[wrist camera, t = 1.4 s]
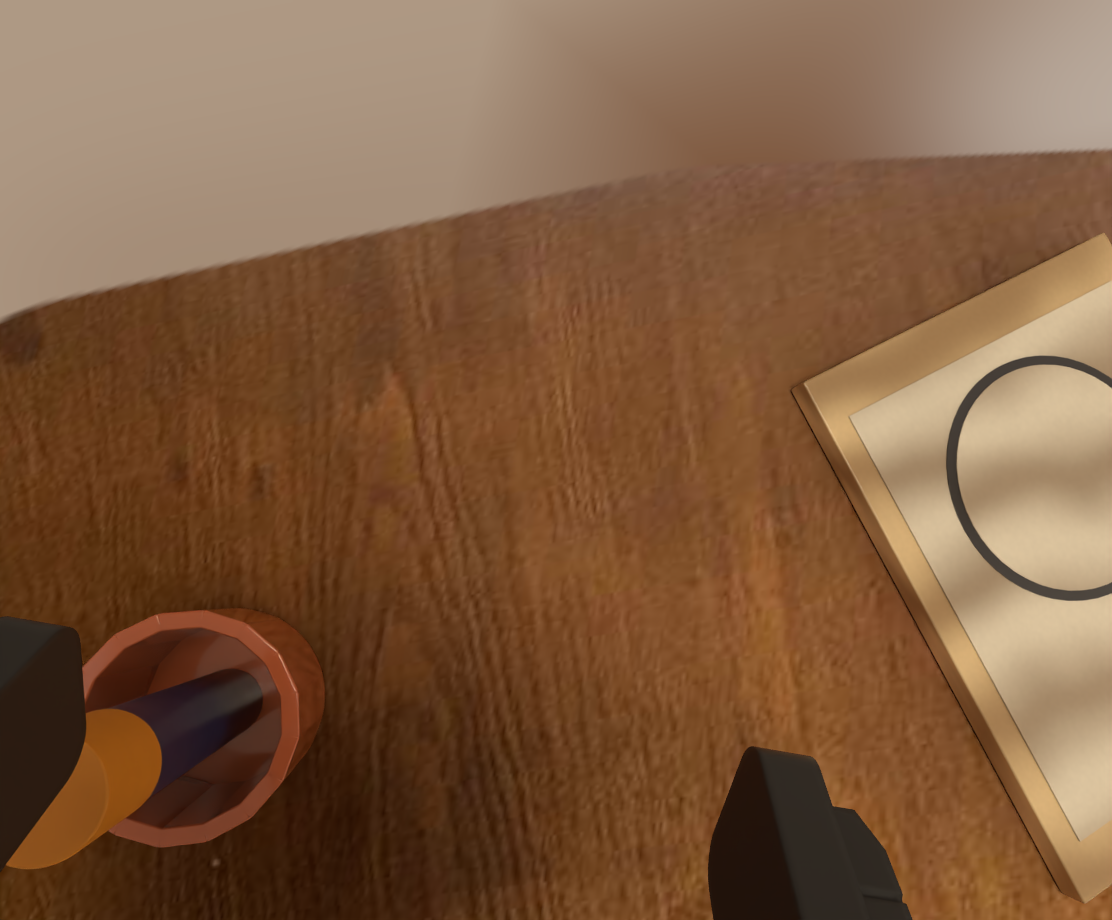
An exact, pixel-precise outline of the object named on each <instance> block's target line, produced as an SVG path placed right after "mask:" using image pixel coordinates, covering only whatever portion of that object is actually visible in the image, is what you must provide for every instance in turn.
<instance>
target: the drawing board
mask: <svg viewBox="0 0 1112 920" xmlns="http://www.w3.org/2000/svg"><path fill="white" fill-rule="evenodd" d="M791 391H792V393H793V395H794V397H795V399H796V400H797V402H798V404H799V406H800V408H801V410H802V412H803V413H804V415H805V417H806V419H807V421H808V423H809V425H810V426H811V428H812V430H813V432H814V434H815V436H816V438H817V439H818V441H819V443H820V445H821V447H822V449H823V451H824V452H825V454H826V456H827V458H828V460H829V462H830V464H831V465H832V467H833V469H834V471H835V473H836V475H837V477H838V478H839V480H840V482H841V484H842V486H843V488H844V490H845V491H846V493H847V495H848V497H849V499H850V501H851V503H852V504H853V506H854V508H855V510H856V512H857V514H858V516H859V517H860V519H861V521H862V523H863V525H864V527H865V529H866V530H867V532H868V534H869V536H870V538H871V540H872V542H873V543H874V545H875V547H876V549H877V551H878V553H879V555H880V557H881V558H882V560H883V562H884V564H885V566H886V568H887V570H888V571H889V573H890V575H891V577H892V579H893V581H894V583H895V584H896V586H897V588H898V590H899V592H900V594H901V596H902V597H903V599H904V601H905V603H906V605H907V607H908V609H909V610H910V612H911V614H912V616H913V618H914V620H915V622H916V623H917V625H918V627H919V629H920V631H921V633H922V635H923V636H924V638H925V640H926V642H927V644H928V646H929V648H930V649H931V651H932V653H933V655H934V657H935V659H936V661H937V662H938V664H939V666H940V668H941V670H942V672H943V674H944V675H945V677H946V679H947V681H948V683H949V685H950V687H951V688H952V690H953V692H954V694H955V696H956V698H957V700H958V701H959V703H960V705H961V707H962V709H963V711H964V713H965V714H966V716H967V718H968V720H969V722H970V724H971V726H972V727H973V729H974V731H975V733H976V735H977V737H978V739H979V740H980V742H981V744H982V746H983V748H984V750H985V752H986V753H987V755H988V757H989V759H990V761H991V763H992V765H993V766H994V768H995V770H996V772H997V774H998V776H999V778H1000V780H1001V781H1002V783H1003V785H1004V787H1005V789H1006V791H1007V793H1008V794H1009V796H1010V798H1011V800H1012V802H1013V804H1014V806H1015V807H1016V809H1017V811H1018V813H1019V815H1020V817H1021V819H1022V820H1023V822H1024V824H1025V826H1026V828H1027V830H1028V832H1029V833H1030V835H1031V837H1032V839H1033V841H1034V843H1035V845H1036V846H1037V848H1038V850H1039V852H1040V854H1041V856H1042V858H1043V859H1044V861H1045V863H1046V865H1047V867H1048V869H1049V871H1050V872H1051V874H1052V876H1053V878H1054V880H1055V882H1056V884H1057V885H1058V887H1059V889H1060V891H1061V893H1063V894H1065V895H1067V896H1069V897H1071V898H1073V899H1075V900H1077V901H1080V902H1082V903H1087V902H1088V901H1090V900H1091V899H1092V898H1094V897H1095V896H1097V895H1098V894H1099V893H1101V892H1102V891H1103V890H1105V889H1106V888H1108V887H1109V886H1110V885H1112V245H1111V243H1110V241H1109V240H1108V238H1107V236H1106V234H1105V233H1101V234H1099V235H1097V236H1095V237H1093V238H1091V239H1089V240H1087V241H1085V242H1083V243H1081V244H1079V245H1077V246H1075V247H1073V248H1071V249H1069V250H1067V251H1065V252H1063V253H1061V254H1059V255H1057V256H1055V257H1053V258H1051V259H1049V260H1047V261H1045V262H1043V263H1041V264H1039V265H1037V266H1035V267H1033V268H1031V269H1029V270H1027V271H1025V272H1023V273H1021V274H1019V275H1017V276H1015V277H1013V278H1011V279H1009V280H1007V281H1005V282H1003V283H1001V284H999V285H997V286H995V287H993V288H991V289H989V290H987V291H985V292H983V293H981V294H979V295H977V296H975V297H973V298H971V299H969V300H967V301H965V302H963V303H961V304H959V305H957V306H955V307H953V308H951V309H949V310H947V311H945V312H943V313H941V314H939V315H937V316H935V317H933V318H931V319H929V320H927V321H925V322H923V323H921V324H919V325H917V326H915V327H913V328H911V329H909V330H907V331H905V332H903V333H901V334H899V335H897V336H895V337H893V338H891V339H889V340H887V341H885V342H883V343H881V344H879V345H877V346H875V347H873V348H871V349H869V350H867V351H865V352H863V353H861V354H859V355H857V356H855V357H853V358H851V359H849V360H847V361H845V362H843V363H841V364H839V365H837V366H835V367H832V368H830V369H828V370H826V371H824V372H822V373H820V374H818V375H816V376H814V377H812V378H810V379H808V380H806V381H804V382H803V383H801V384H799V385H797V386H796V387H794V388H792V390H791Z"/></svg>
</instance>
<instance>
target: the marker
mask: <svg viewBox="0 0 1112 920" xmlns="http://www.w3.org/2000/svg"><path fill="white" fill-rule="evenodd" d="M262 704H263V696H262V691H261V688H260V686H259V684H258V682H257V681H256V680H255V679H254V678H253V677H252V676H251V675H250V674H248V673H247V672H245V671H242V670H238V669H224V670H221V671H217V672H214V673H211V674H208V675H205V676H203V677H200V678H197V679H194V680H191V681H188V682H185V683H182V684H179V685H176V686H173V687H170V688H167V689H164V690H161V691H158V692H155V693H152V694H149V695H146V696H143V697H140V698H137V699H134V700H131V701H128V702H125V703H122V704H119V705H116V706H113V707H110V708H107V709H100V710H95V711H91V712H88V713H86V736H85V741H84V745H83V749H82V752H81V755H80V758H79V760H78V763H77V765H76V767H75V769H74V771H73V773H72V775H71V776H70V778H69V780H68V781H67V783H66V784H65V785H64V787H63V788H62V789H61V791H60V792H59V794H58V795H57V796H56V798H55V799H54V800H53V802H52V803H51V804H50V806H49V807H48V808H47V810H46V811H45V812H44V814H43V815H42V816H41V818H40V819H39V821H38V822H37V823H36V825H35V826H34V827H33V829H32V830H31V831H30V833H29V834H28V835H27V837H26V838H25V839H24V841H23V842H22V843H21V845H20V846H19V847H18V849H17V850H16V852H15V853H14V854H13V856H12V857H11V858H10V860H9V861H8V862H7V864H6V865H7V866H9V867H14V868H19V869H39V868H44V867H49V866H52V865H55V864H58V863H60V862H62V861H64V860H66V859H68V858H70V857H71V856H73V855H75V854H76V853H77V852H79V851H80V850H82V849H83V848H84V847H86V846H87V845H88V844H90V843H91V842H93V841H94V840H95V839H97V838H98V837H100V836H101V835H102V834H104V833H105V832H107V831H108V830H109V829H111V828H112V827H114V826H115V825H116V824H118V823H119V822H121V821H122V820H123V819H125V818H126V817H128V816H129V815H130V814H132V813H133V812H134V811H136V810H137V809H138V808H139V807H141V806H142V805H143V804H144V803H145V801H146V800H147V799H149V798H150V797H152V796H153V795H154V794H156V793H157V792H159V791H160V790H162V789H163V788H164V787H166V786H167V785H169V784H170V783H171V782H173V781H174V780H176V779H177V778H179V777H180V776H181V775H183V774H184V773H186V772H187V771H188V770H190V769H191V768H193V767H194V766H196V765H197V764H198V763H200V762H201V761H203V760H204V759H205V758H207V757H208V756H210V755H211V754H213V753H214V752H215V751H217V750H218V749H220V748H221V747H222V746H224V745H225V744H227V743H228V742H230V741H231V740H232V739H234V738H235V737H237V736H238V735H239V734H241V733H242V732H244V731H245V730H247V729H248V728H249V727H250V726H251V725H252V724H253V723H254V722H255V721H256V719H257V718H258V716H259V714H260V712H261V709H262Z"/></svg>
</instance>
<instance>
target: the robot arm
mask: <svg viewBox="0 0 1112 920" xmlns="http://www.w3.org/2000/svg"><path fill="white" fill-rule="evenodd" d="M85 736H86V713H85V699H84V685H83V671H82V657H81V644H80V638H79V635H78V633H77V631H76V630H75V629H74V628H71V627H66V626H61V625H55V624H49V623H43V622H37V621H32V620H26V619H20V618H14V617H8V616H7V617H1V618H0V872H1V870H2V869H3V868H4V866H5V865H6V864H7V862H8V861H9V860H10V858H11V857H12V856H13V854H14V853H15V852H16V850H17V849H18V847H19V846H20V845H21V843H22V842H23V841H24V839H25V838H26V837H27V835H28V834H29V833H30V831H31V830H32V829H33V827H34V826H35V825H36V823H37V822H38V821H39V819H40V818H41V816H42V815H43V814H44V812H45V811H46V810H47V808H48V807H49V806H50V804H51V803H52V802H53V800H54V799H55V798H56V796H57V795H58V794H59V792H60V791H61V789H62V788H63V787H64V785H65V784H66V783H67V781H68V780H69V778H70V776H71V775H72V773H73V771H74V769H75V767H76V765H77V763H78V760H79V758H80V755H81V752H82V749H83V745H84V741H85ZM708 882H709V892H710V899H711V906H712V912H713V919H714V920H912V917H911V915H910V912H909V910H908V907H907V904H905V903H903V902H902V896H903V894H902V891H901V889H900V886H899V884H898V881H897V879H896V876H895V873H894V871H893V868H892V866H891V863H890V860H889V858H888V855H887V853H886V850H885V849H884V848H883V846H882V845H881V844H880V842H879V841H878V840H877V839H876V837H875V836H874V835H873V834H872V832H871V831H870V830H869V828H868V827H867V826H866V825H865V823H864V822H863V821H862V819H861V818H860V817H859V816H858V814H857V813H856V812H855V810H852V809H846V808H840V807H834V806H832V803H831V800H830V797H829V794H828V791H827V788H826V785H825V782H824V779H823V776H822V773H821V770H820V768H819V765H818V764H817V762H816V760H815V759H814V758H813V757H811V756H806V755H800V754H794V753H788V752H782V751H776V750H771V749H765V748H759V747H749V748H748V749H747V750H746V751H745V753H744V754H743V756H742V759H741V761H740V764H739V767H738V769H737V772H736V774H735V777H734V780H733V782H732V785H731V788H730V790H729V793H728V796H727V798H726V801H725V804H724V806H723V809H722V811H721V814H720V817H719V819H718V822H717V825H716V827H715V830H714V833H713V836H712V840H711V846H710V852H709V862H708Z"/></svg>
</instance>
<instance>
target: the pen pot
mask: <svg viewBox="0 0 1112 920" xmlns="http://www.w3.org/2000/svg"><path fill="white" fill-rule="evenodd" d="M224 669H238V670H242V671H245V672H247V673H248V674H250V675H251V676H252V677H253V678H254V679H255V680H256V681H257V682H258V684H259V686H260V688H261V691H262V696H263V704H262V709H261V712H260V714H259V716H258V718H257V719H256V721H255V722H254V723H253V724H252V725H251V726H250V727H249V728H248V729H247V730H245V731H244V732H242V733H241V734H239V735H238V736H237V737H235V738H234V739H232V740H231V741H230V742H228V743H227V744H225V745H224V746H222V747H221V748H220V749H218V750H217V751H215V752H214V753H213V754H211V755H210V756H208V757H207V758H205V759H204V760H203V761H201V762H200V763H198V764H197V765H196V766H194V767H193V768H191V769H190V770H188V771H187V772H186V773H184V774H183V775H181V776H180V777H179V778H177V779H176V780H174V781H173V782H171V783H170V784H169V785H167V786H166V787H164V788H163V789H162V790H160V791H159V792H157V793H156V794H154V795H153V796H152V797H150V798H149V799H147V800H146V801H145V803H144V804H143V805H142V806H141V807H139V808H138V809H137V810H136V811H134V812H133V813H132V814H130V815H129V816H128V817H126V818H125V819H123V820H122V821H121V822H119V823H118V824H116V825H115V826H114V827H112V828H111V829H109V831H110V832H111V833H112V834H114V835H116V836H119V837H123V838H126V839H130V840H133V841H137V842H140V843H143V844H147V845H150V846H154V847H161V848H163V847H172V846H180V845H188V844H196V843H204V842H207V841H211V840H212V839H214V838H216V837H218V836H220V835H222V834H223V833H225V832H227V831H229V830H231V829H233V828H235V827H236V826H238V825H240V824H242V823H244V822H246V821H247V820H249V819H250V818H252V817H253V816H254V815H255V814H256V812H257V811H258V810H259V809H260V808H261V807H262V806H263V804H264V803H265V802H266V801H267V800H268V799H269V797H270V796H271V795H272V794H273V793H274V792H275V791H276V789H277V788H278V787H279V786H280V785H281V784H282V782H283V781H284V780H285V779H286V778H287V776H288V775H289V774H290V773H291V771H292V770H293V769H294V768H295V766H296V765H297V764H298V763H299V761H300V760H301V759H302V758H303V756H304V755H305V754H306V753H307V752H308V750H309V749H310V747H311V746H312V743H313V740H314V738H315V736H316V734H317V731H318V729H319V727H320V723H321V720H322V717H323V711H324V705H325V685H324V678H323V674H322V669H321V666H320V664H319V661H318V659H317V656H316V655H315V653H314V651H313V649H312V647H311V646H310V645H309V643H308V642H307V641H306V639H305V638H304V637H303V636H302V635H301V634H300V633H299V632H298V631H297V630H296V629H294V628H293V627H292V626H290V625H289V624H288V623H286V622H284V621H283V620H281V619H279V618H277V617H275V616H272V615H270V614H267V613H264V612H259V611H255V610H251V609H248V608H233V609H209V610H193V611H181V612H168V613H160V614H156V615H153V616H151V617H149V618H147V619H145V620H143V621H141V622H139V623H137V624H134V625H132V626H130V627H128V628H126V629H124V630H122V631H120V632H118V633H116V634H115V635H113V636H112V637H111V638H110V639H109V640H108V641H107V642H106V643H105V644H104V645H103V646H102V647H101V648H100V649H99V650H98V651H97V652H96V653H95V654H94V655H93V656H92V657H91V658H90V659H89V661H88V662H87V663H86V664H85V665H84V666H83V667H82V671H83V685H84V699H85V713H88V712H91V711H95V710H100V709H107V708H110V707H113V706H116V705H119V704H122V703H125V702H128V701H131V700H134V699H137V698H140V697H143V696H146V695H149V694H152V693H155V692H158V691H161V690H164V689H167V688H170V687H173V686H176V685H179V684H182V683H185V682H188V681H191V680H194V679H197V678H200V677H203V676H205V675H208V674H211V673H214V672H217V671H221V670H224Z"/></svg>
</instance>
